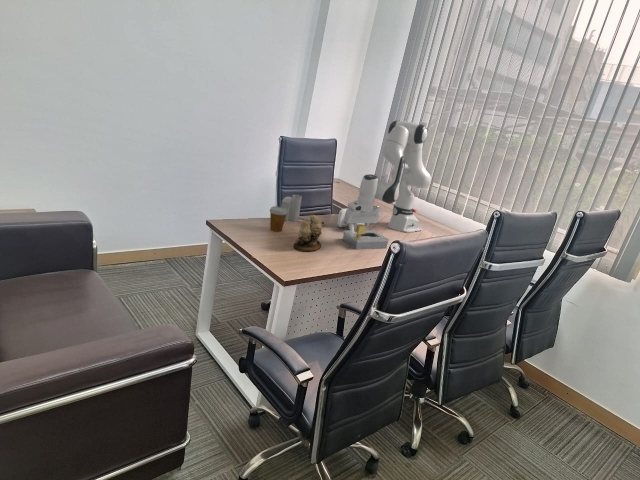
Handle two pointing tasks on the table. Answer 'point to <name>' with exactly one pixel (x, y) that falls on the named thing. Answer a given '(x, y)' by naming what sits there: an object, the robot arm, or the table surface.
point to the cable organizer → (342, 222)
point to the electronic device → (293, 208)
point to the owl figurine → (309, 235)
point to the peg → (360, 229)
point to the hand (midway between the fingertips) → (359, 230)
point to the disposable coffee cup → (277, 218)
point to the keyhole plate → (365, 240)
